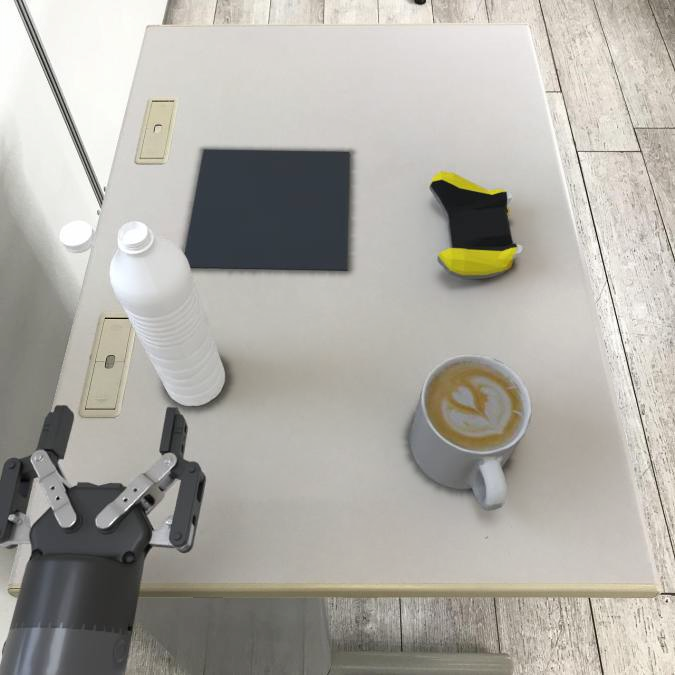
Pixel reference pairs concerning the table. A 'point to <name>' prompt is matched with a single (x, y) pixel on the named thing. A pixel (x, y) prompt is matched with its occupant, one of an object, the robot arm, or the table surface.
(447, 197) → the gaming controller
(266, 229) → the mat
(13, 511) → the robot arm
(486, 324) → the table surface
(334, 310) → the table surface
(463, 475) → the coffee mug
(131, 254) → the water bottle
